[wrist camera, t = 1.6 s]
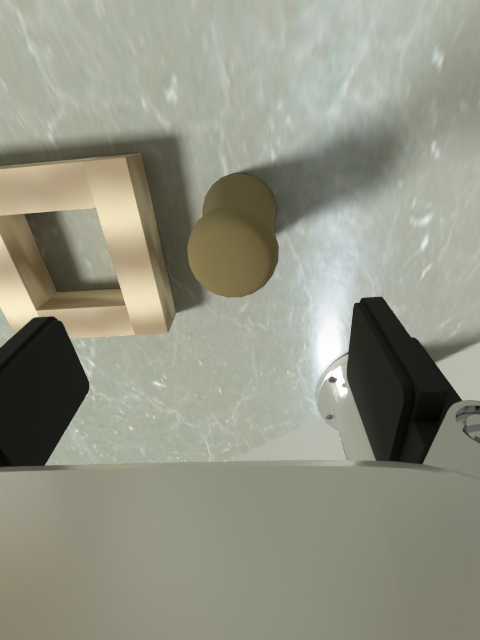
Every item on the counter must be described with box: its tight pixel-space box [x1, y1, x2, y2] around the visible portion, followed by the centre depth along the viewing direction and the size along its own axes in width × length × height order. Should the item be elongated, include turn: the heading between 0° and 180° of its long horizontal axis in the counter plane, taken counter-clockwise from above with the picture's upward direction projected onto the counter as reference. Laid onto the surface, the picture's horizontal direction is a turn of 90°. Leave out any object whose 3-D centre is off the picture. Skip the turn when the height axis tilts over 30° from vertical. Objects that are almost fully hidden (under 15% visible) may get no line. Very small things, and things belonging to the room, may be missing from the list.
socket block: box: [0, 153, 176, 338], centre depth 27 cm, size 14×14×4 cm
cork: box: [187, 173, 279, 297], centre depth 22 cm, size 6×6×11 cm
